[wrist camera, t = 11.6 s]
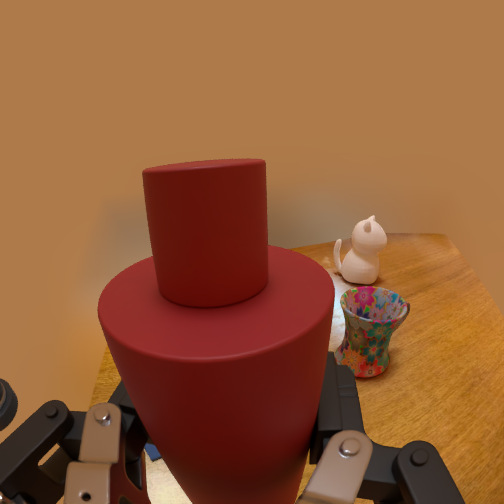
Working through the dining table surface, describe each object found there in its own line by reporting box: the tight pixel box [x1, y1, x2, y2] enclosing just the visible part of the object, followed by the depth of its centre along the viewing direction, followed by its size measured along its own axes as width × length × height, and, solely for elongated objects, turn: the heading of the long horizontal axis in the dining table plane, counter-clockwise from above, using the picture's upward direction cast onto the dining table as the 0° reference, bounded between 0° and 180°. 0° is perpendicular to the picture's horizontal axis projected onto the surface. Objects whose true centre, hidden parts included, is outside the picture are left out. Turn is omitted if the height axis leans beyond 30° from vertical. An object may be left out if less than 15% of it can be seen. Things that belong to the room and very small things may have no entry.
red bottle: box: [98, 159, 335, 504], centre depth 8 cm, size 5×5×14 cm
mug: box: [335, 286, 410, 377], centre depth 37 cm, size 12×9×11 cm
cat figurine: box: [334, 215, 387, 284], centre depth 62 cm, size 9×12×15 cm
